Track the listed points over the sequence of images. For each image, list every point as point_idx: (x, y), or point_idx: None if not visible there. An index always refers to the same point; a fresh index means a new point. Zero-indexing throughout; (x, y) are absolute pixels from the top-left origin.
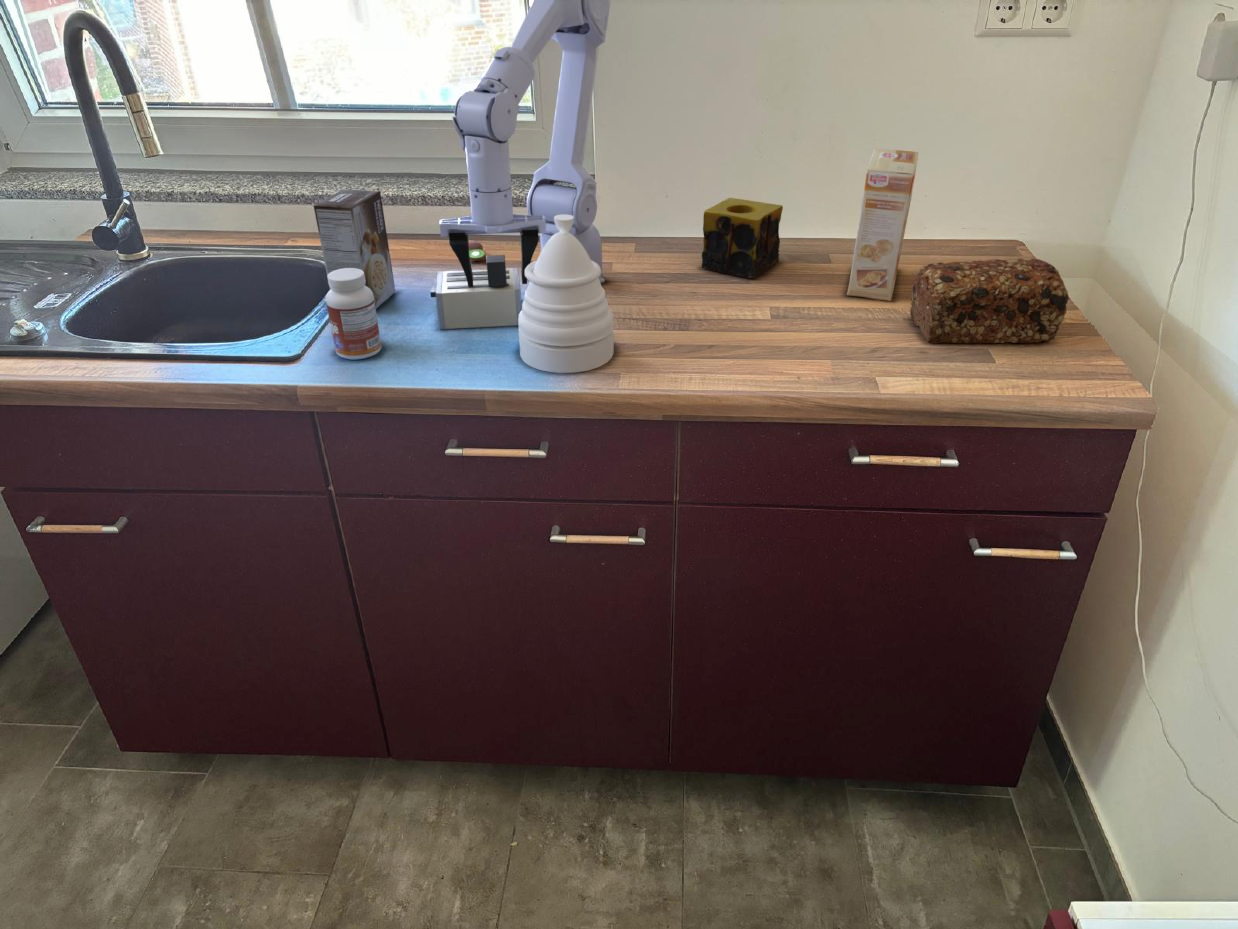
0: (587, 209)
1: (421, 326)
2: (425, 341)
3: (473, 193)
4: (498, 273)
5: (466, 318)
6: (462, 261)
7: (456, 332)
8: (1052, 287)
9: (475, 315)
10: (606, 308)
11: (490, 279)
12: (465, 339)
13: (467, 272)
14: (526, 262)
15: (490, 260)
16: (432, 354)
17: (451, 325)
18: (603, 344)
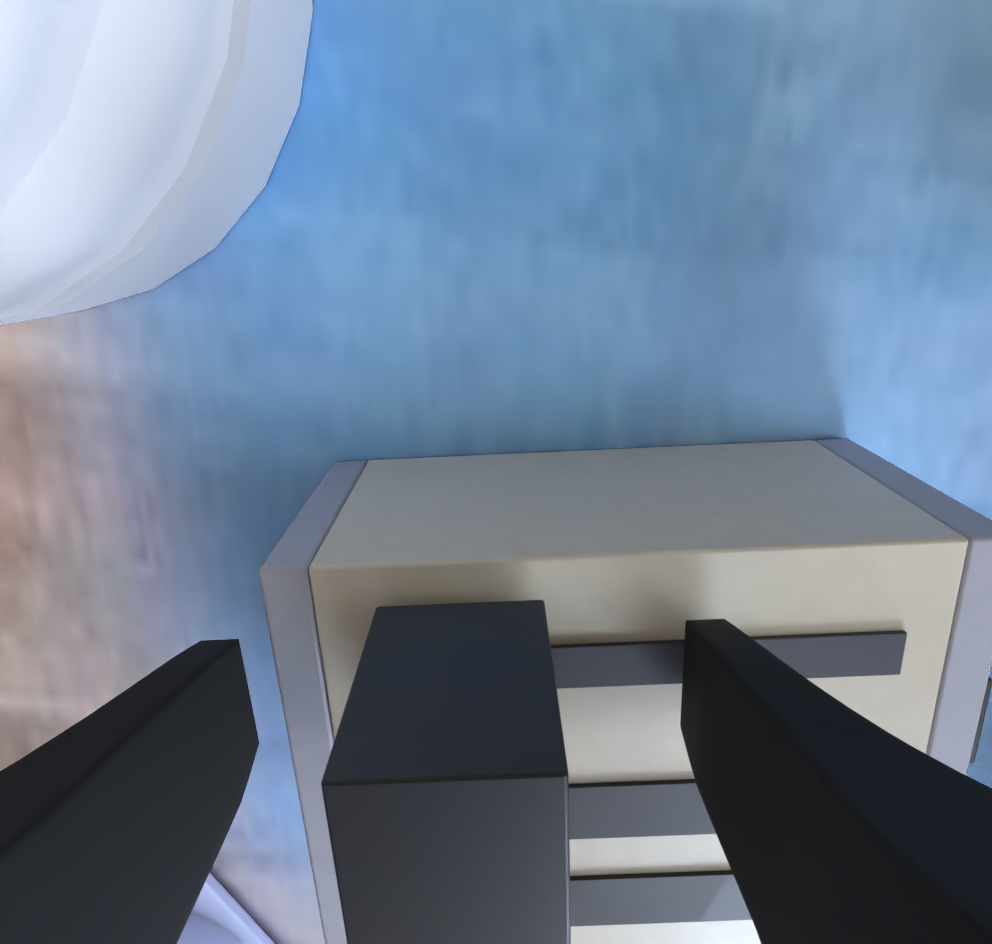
0: None
1: (952, 494)
2: (956, 261)
3: None
4: (434, 680)
5: (695, 466)
6: (916, 769)
7: (747, 388)
8: None
9: (636, 473)
10: None
11: (524, 639)
12: (695, 270)
13: (785, 683)
14: (43, 766)
15: (518, 832)
16: (936, 23)
17: (783, 446)
18: None
